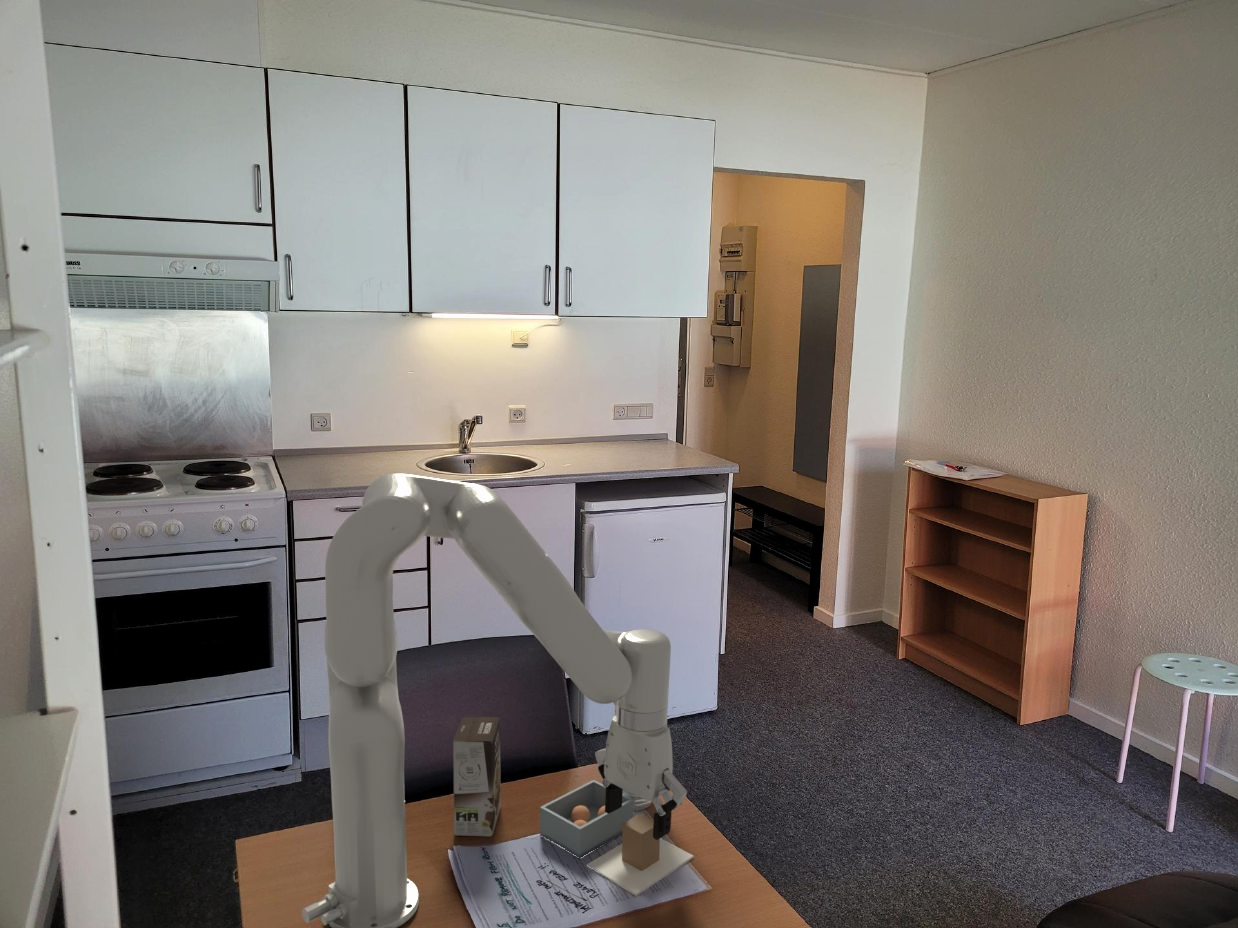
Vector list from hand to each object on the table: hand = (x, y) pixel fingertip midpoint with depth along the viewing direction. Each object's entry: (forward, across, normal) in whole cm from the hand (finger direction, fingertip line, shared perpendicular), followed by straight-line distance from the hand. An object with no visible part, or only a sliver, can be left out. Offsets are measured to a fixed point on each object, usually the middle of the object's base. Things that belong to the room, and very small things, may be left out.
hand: (636, 822), depth 138 cm
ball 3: (+4, -10, +4) cm, 11 cm away
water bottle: (+7, -12, +13) cm, 19 cm away
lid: (+7, 0, +1) cm, 7 cm away
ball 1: (+4, -13, +1) cm, 13 cm away
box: (+7, -11, +1) cm, 13 cm away
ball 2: (+4, -10, -2) cm, 11 cm away
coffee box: (+7, -26, -9) cm, 29 cm away
